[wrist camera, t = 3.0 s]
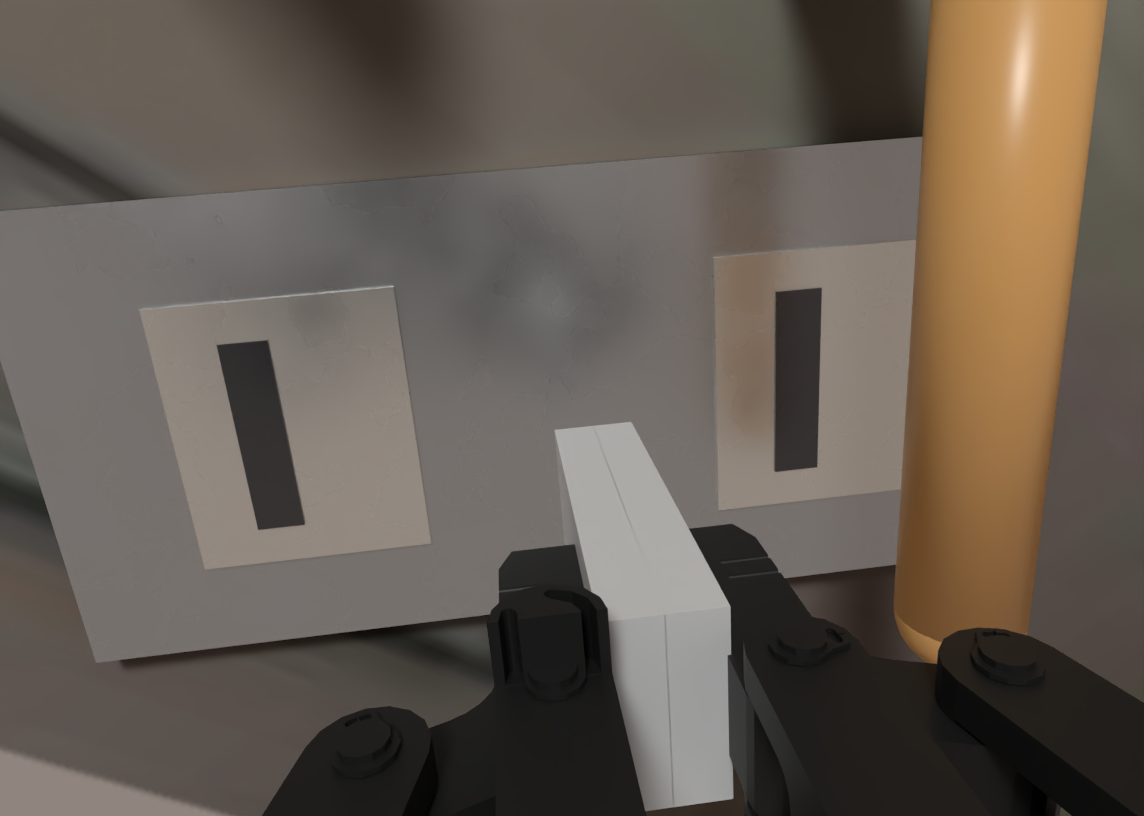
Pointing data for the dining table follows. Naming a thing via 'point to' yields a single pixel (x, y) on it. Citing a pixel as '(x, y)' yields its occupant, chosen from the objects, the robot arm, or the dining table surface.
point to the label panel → (452, 378)
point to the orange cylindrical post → (990, 304)
